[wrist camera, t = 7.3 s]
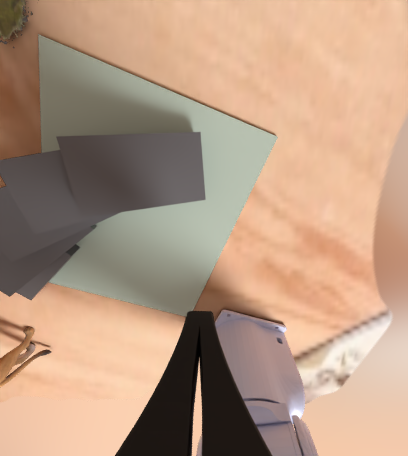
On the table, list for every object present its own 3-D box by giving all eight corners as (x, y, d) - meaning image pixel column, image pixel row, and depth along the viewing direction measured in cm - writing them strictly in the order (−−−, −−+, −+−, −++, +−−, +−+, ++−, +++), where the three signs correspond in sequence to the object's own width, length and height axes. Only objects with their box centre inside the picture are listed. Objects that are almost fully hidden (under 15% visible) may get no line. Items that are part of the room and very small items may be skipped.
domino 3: (46, 185, 16) (-52, 258, 15) (93, 229, 18) (9, 296, 17) (54, 185, 17) (-34, 251, 16) (97, 226, 19) (20, 287, 18)
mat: (276, 136, 16) (277, 136, 15) (189, 315, 26) (189, 317, 25) (41, 36, 13) (38, 34, 13) (46, 279, 23) (44, 281, 23)
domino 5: (200, 131, 14) (56, 136, 11) (205, 199, 16) (80, 218, 13) (194, 135, 15) (64, 139, 13) (199, 197, 17) (85, 213, 14)
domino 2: (87, 154, 15) (-43, 204, 13) (121, 211, 17) (12, 262, 15) (91, 156, 16) (-26, 201, 14) (122, 208, 18) (22, 254, 16)
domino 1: (139, 135, 14) (-8, 161, 12) (158, 201, 16) (34, 234, 14) (138, 138, 16) (7, 162, 13) (156, 198, 17) (43, 228, 15)
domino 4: (20, 223, 17) (-16, 275, 20) (71, 256, 19) (30, 300, 22) (34, 215, 19) (-1, 265, 22) (80, 247, 20) (41, 289, 23)
